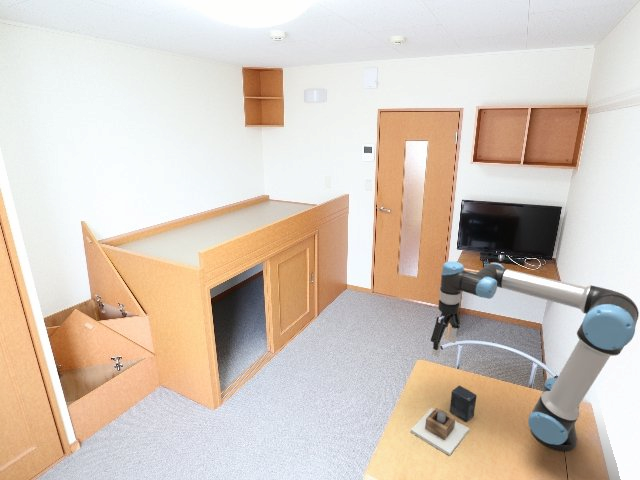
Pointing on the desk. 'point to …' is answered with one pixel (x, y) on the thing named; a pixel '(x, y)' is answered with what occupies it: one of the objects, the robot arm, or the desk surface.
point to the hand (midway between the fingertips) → (444, 348)
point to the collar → (437, 427)
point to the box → (462, 403)
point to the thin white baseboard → (443, 445)
